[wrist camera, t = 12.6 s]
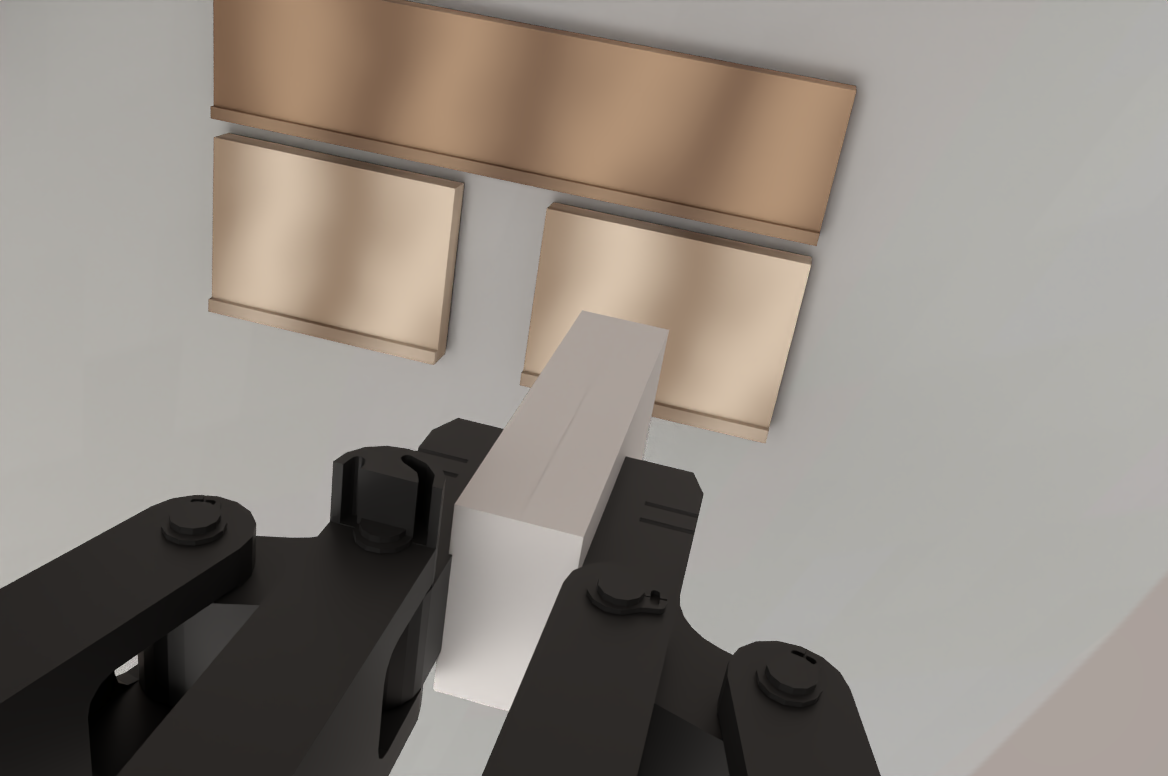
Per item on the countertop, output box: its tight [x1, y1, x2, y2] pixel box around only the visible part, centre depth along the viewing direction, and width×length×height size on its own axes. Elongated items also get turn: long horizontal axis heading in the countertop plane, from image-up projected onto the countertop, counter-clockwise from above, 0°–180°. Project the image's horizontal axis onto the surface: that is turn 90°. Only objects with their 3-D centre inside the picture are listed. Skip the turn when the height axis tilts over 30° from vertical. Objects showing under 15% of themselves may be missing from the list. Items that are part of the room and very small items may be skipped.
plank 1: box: [208, 133, 464, 365], centre depth 46 cm, size 11×8×2 cm
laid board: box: [211, 0, 856, 246], centre depth 42 cm, size 26×6×2 cm, turn 81°
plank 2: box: [520, 202, 812, 443], centre depth 44 cm, size 11×8×2 cm
